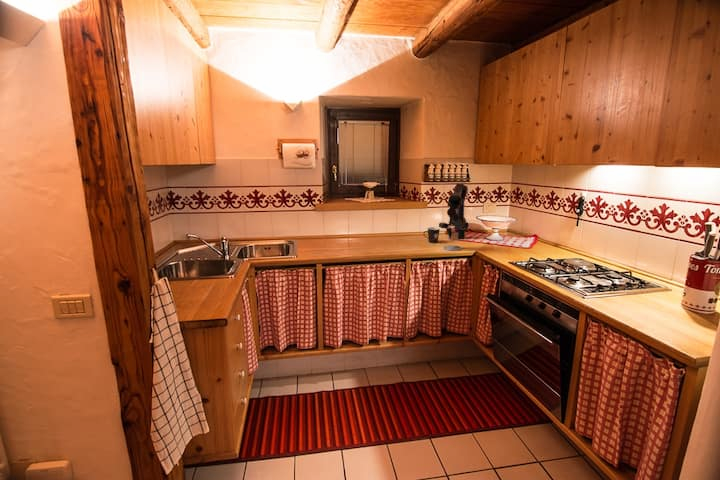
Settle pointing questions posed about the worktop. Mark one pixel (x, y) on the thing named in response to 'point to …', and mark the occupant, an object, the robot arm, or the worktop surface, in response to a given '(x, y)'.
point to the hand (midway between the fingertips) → (453, 237)
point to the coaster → (452, 248)
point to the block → (453, 235)
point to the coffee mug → (433, 234)
